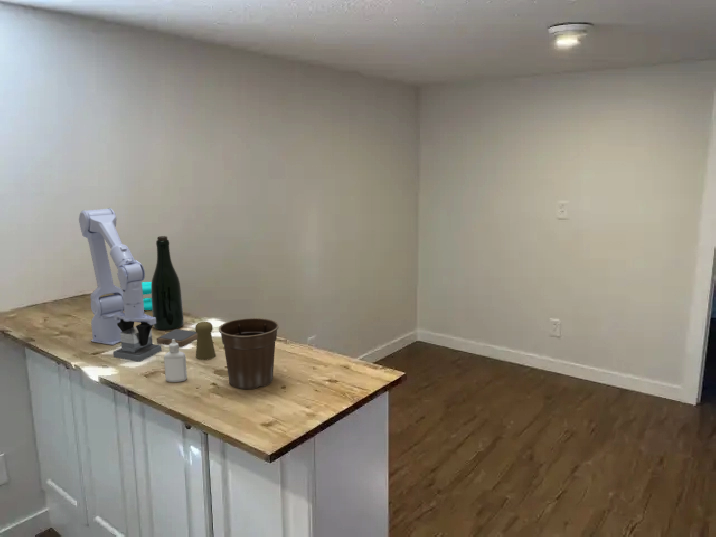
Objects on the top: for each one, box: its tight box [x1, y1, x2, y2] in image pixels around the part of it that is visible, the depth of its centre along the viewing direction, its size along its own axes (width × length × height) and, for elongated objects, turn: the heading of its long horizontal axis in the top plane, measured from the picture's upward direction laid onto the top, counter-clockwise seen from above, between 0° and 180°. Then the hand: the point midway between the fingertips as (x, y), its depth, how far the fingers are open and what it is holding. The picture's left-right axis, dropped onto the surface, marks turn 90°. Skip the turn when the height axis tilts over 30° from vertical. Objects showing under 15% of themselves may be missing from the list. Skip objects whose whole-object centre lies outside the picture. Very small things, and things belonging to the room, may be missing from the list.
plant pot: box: [218, 317, 280, 390], centre depth 157 cm, size 16×16×16 cm
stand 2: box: [156, 328, 197, 348], centre depth 191 cm, size 10×10×2 cm
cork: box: [194, 321, 216, 361], centre depth 176 cm, size 6×6×11 cm
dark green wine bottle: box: [150, 235, 185, 331], centre depth 202 cm, size 10×10×33 cm
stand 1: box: [113, 343, 163, 363], centre depth 178 cm, size 10×10×2 cm
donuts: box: [142, 281, 152, 311], centre depth 227 cm, size 10×10×10 cm
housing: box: [120, 325, 154, 353], centre depth 178 cm, size 5×8×6 cm, turn 159°
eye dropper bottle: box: [163, 339, 188, 383], centre depth 158 cm, size 4×6×12 cm
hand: (137, 343), depth 178 cm, fingers closed on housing, 5 cm apart
